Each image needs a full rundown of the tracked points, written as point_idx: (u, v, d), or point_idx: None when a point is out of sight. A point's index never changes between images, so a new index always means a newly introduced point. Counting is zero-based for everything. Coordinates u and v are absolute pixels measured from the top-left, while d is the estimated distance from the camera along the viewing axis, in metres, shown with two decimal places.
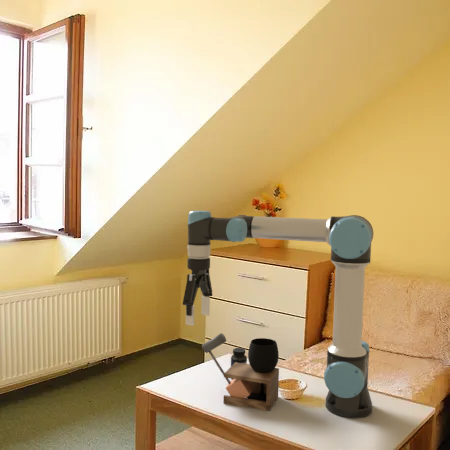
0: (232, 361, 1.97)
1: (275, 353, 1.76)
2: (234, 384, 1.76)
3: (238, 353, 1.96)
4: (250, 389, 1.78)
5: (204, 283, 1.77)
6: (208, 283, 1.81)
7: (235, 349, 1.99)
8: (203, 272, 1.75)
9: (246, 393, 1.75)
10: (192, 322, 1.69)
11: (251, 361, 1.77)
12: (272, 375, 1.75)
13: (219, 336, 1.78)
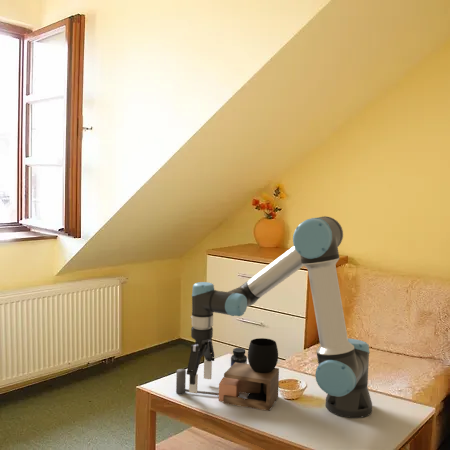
0: (232, 361, 1.97)
1: (275, 353, 1.76)
2: (220, 391, 1.78)
3: (238, 353, 1.96)
4: (236, 381, 1.80)
5: (207, 350, 1.87)
6: (210, 348, 1.91)
7: (235, 349, 1.99)
8: (206, 340, 1.85)
9: (233, 387, 1.77)
10: (195, 390, 1.78)
11: (251, 361, 1.77)
12: (272, 375, 1.75)
13: (177, 373, 1.83)
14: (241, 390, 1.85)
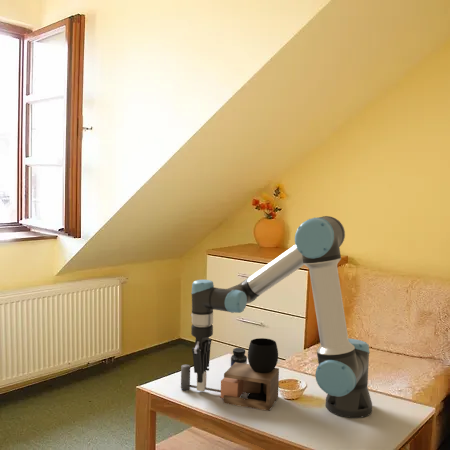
0: (232, 361, 1.97)
1: (275, 353, 1.76)
2: (222, 388, 1.79)
3: (238, 353, 1.96)
4: None
5: None
6: (207, 354, 1.87)
7: (235, 349, 1.99)
8: None
9: (234, 385, 1.78)
10: (203, 388, 1.84)
11: (251, 361, 1.77)
12: (272, 375, 1.75)
13: (181, 368, 1.86)
14: None
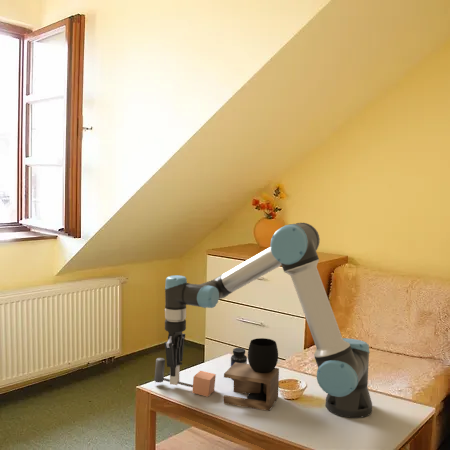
0: (232, 361, 1.97)
1: (275, 353, 1.76)
2: (194, 383, 1.83)
3: (238, 353, 1.96)
4: (211, 376, 1.84)
5: None
6: (181, 348, 1.91)
7: (235, 349, 1.99)
8: None
9: (206, 381, 1.81)
10: (175, 382, 1.87)
11: (251, 361, 1.77)
12: (272, 375, 1.75)
13: (156, 361, 1.89)
14: (241, 390, 1.85)
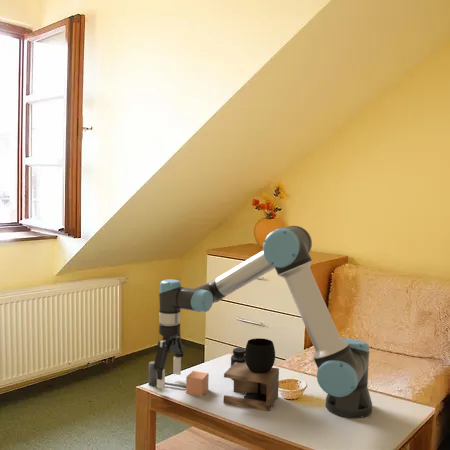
0: (232, 361, 1.97)
1: (272, 353, 1.76)
2: (187, 383, 1.84)
3: (238, 353, 1.96)
4: (204, 375, 1.85)
5: (175, 346, 1.91)
6: (179, 345, 1.95)
7: (235, 349, 1.99)
8: (174, 336, 1.89)
9: (199, 380, 1.82)
10: (162, 385, 1.82)
11: (248, 361, 1.77)
12: (272, 375, 1.75)
13: (149, 365, 1.90)
14: (241, 390, 1.85)
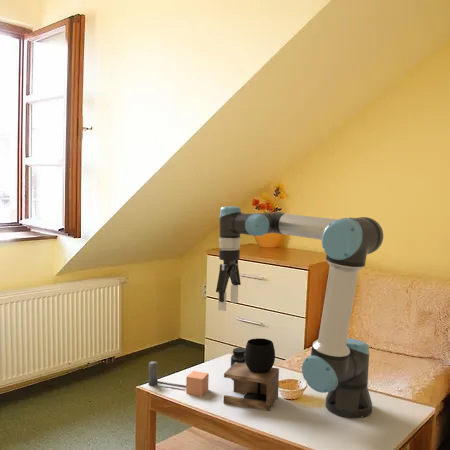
0: (232, 361, 1.97)
1: (272, 353, 1.76)
2: (187, 383, 1.84)
3: (238, 353, 1.96)
4: (204, 375, 1.85)
5: (234, 273, 1.94)
6: (237, 273, 1.98)
7: (235, 349, 1.99)
8: (233, 262, 1.92)
9: (199, 380, 1.82)
10: (224, 308, 1.85)
11: (248, 361, 1.77)
12: (272, 375, 1.75)
13: (149, 365, 1.90)
14: (241, 390, 1.85)
